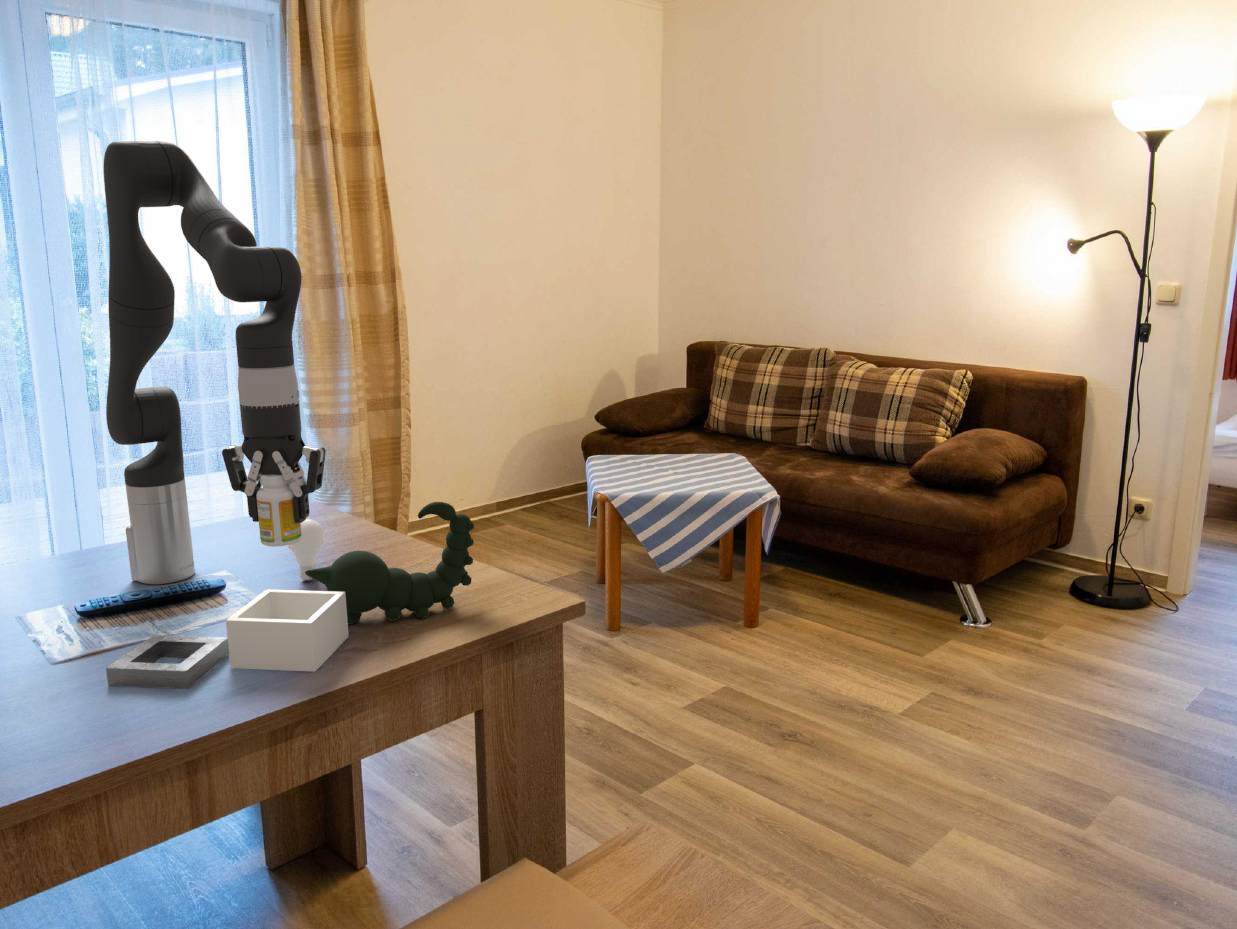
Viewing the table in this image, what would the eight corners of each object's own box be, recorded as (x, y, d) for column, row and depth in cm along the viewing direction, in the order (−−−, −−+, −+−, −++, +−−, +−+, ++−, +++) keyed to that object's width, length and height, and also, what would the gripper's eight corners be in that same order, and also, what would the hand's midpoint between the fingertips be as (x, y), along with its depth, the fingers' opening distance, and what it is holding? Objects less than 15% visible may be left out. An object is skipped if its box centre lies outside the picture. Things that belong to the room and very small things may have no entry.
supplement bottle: (304, 534, 135) (298, 467, 132) (299, 546, 129) (293, 476, 127) (264, 536, 134) (258, 469, 131) (257, 548, 128) (251, 478, 126)
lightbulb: (333, 574, 167) (329, 514, 164) (319, 587, 161) (314, 525, 158) (299, 573, 168) (294, 513, 165) (283, 586, 161) (277, 524, 159)
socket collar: (108, 685, 125) (106, 668, 124) (156, 651, 136) (154, 634, 135) (187, 688, 124) (185, 671, 123) (229, 654, 134) (228, 637, 134)
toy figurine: (461, 606, 157) (302, 614, 148) (467, 494, 153) (304, 495, 144) (474, 626, 148) (306, 636, 139) (480, 509, 145) (308, 511, 135)
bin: (230, 668, 130) (225, 620, 128) (270, 633, 141) (266, 589, 140) (315, 671, 129) (311, 623, 127) (348, 636, 140) (345, 591, 139)
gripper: (203, 403, 124) (216, 527, 128) (309, 404, 123) (319, 530, 126) (232, 394, 131) (243, 512, 135) (332, 395, 130) (340, 514, 134)
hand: (279, 520), depth 131 cm, fingers closed on supplement bottle, 5 cm apart
